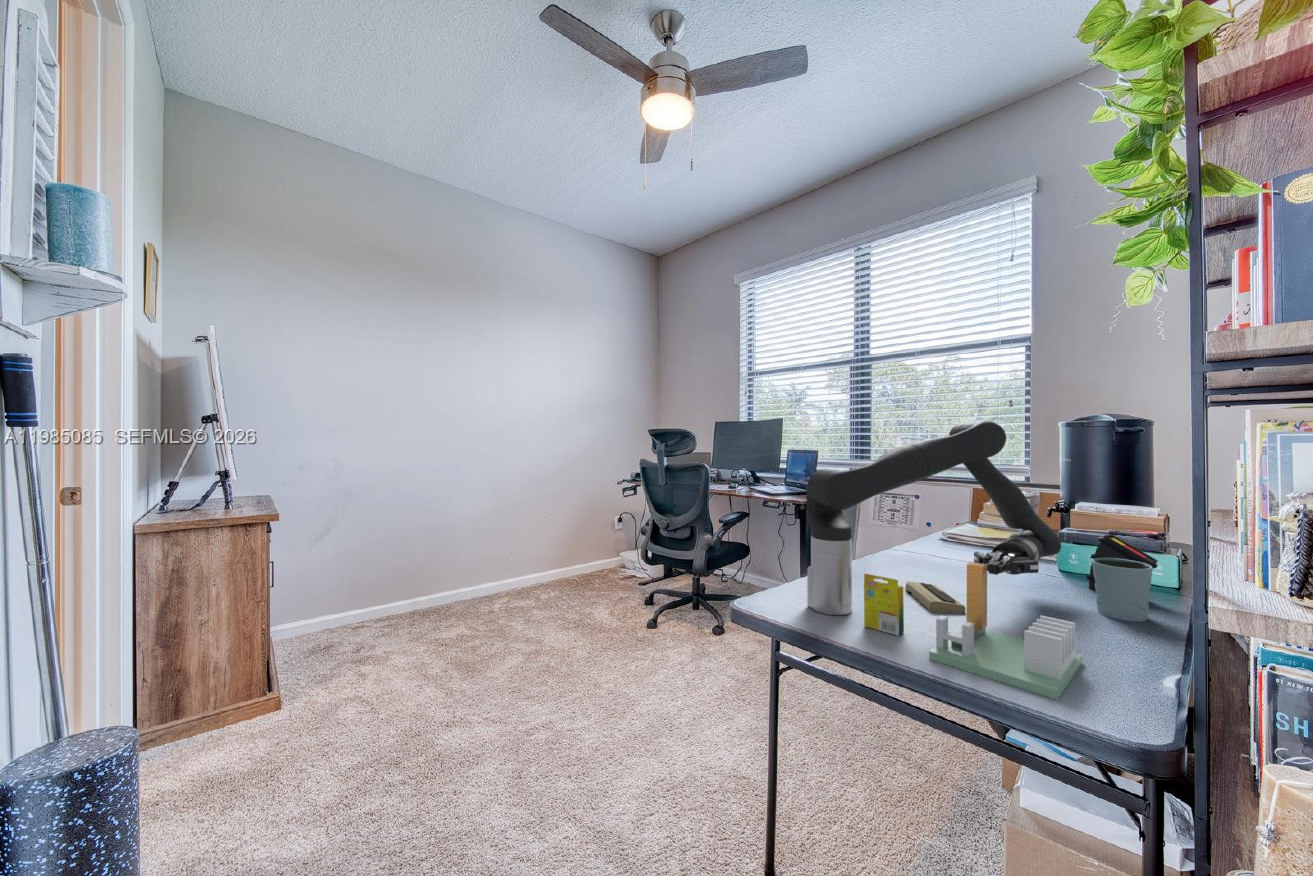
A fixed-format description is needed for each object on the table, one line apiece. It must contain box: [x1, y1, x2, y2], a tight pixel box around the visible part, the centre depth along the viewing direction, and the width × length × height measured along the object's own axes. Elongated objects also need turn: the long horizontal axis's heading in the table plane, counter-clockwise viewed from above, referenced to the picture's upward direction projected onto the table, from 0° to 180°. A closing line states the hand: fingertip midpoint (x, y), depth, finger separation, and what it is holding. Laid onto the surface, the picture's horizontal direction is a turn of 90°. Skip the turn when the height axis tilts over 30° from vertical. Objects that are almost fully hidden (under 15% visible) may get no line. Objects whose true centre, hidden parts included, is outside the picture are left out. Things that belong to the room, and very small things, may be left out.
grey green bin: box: [1091, 558, 1154, 623], centre depth 115 cm, size 10×10×12 cm
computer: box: [904, 581, 967, 614], centre depth 125 cm, size 16×8×3 cm, turn 173°
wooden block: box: [951, 561, 988, 649], centre depth 99 cm, size 3×12×14 cm, turn 131°
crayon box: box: [863, 573, 905, 637], centre depth 107 cm, size 7×3×12 cm, turn 43°
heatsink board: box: [928, 614, 1083, 701], centre depth 93 cm, size 19×19×8 cm
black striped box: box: [1086, 534, 1159, 591], centre depth 129 cm, size 4×13×15 cm, turn 19°
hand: (992, 569), depth 108 cm, fingers closed
